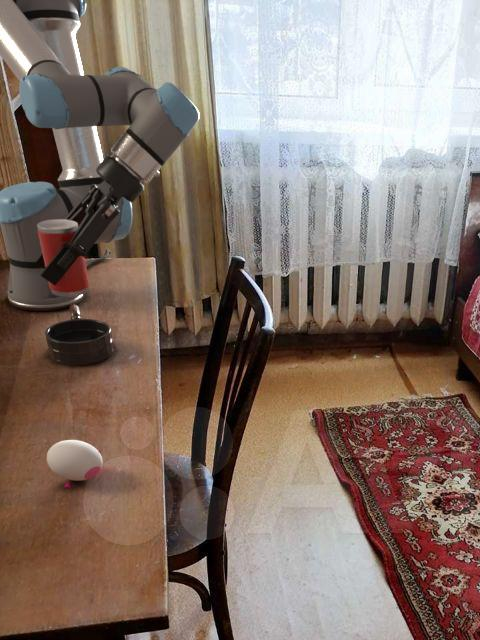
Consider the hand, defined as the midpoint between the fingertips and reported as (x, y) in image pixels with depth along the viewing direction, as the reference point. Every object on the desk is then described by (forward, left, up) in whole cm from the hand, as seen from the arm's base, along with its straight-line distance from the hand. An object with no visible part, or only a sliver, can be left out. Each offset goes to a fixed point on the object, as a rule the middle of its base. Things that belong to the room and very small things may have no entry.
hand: (45, 273), depth 115 cm
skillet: (-3, +3, -16) cm, 16 cm away
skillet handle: (-11, -3, -13) cm, 17 cm away
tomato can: (-2, +3, -3) cm, 5 cm away
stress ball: (+34, +22, -16) cm, 44 cm away
